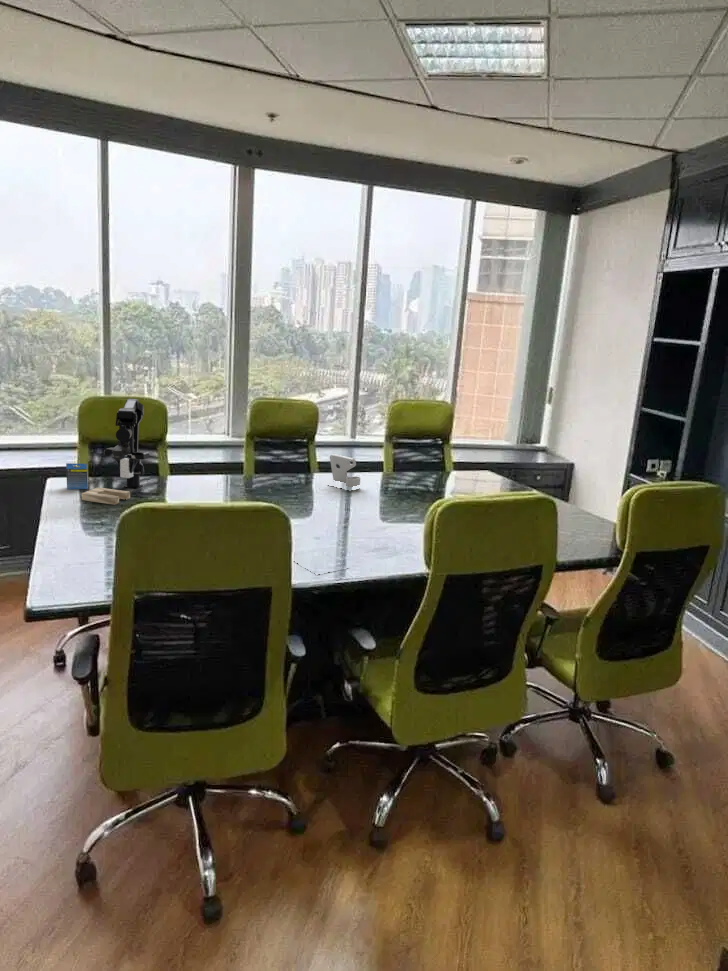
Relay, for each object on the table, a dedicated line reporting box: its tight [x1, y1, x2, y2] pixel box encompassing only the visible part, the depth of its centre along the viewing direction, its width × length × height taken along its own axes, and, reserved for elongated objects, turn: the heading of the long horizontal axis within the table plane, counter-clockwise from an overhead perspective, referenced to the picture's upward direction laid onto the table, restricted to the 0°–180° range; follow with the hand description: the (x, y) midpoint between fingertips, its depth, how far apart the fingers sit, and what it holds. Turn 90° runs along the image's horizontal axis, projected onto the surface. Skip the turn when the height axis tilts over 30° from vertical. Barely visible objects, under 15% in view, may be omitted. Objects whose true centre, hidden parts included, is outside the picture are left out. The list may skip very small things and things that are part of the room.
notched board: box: [81, 487, 131, 505], centre depth 267 cm, size 12×16×3 cm
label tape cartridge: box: [65, 462, 89, 490], centre depth 278 cm, size 9×4×12 cm, turn 108°
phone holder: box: [329, 453, 361, 487], centre depth 325 cm, size 17×10×18 cm, turn 56°
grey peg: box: [119, 457, 133, 479], centre depth 267 cm, size 4×4×8 cm
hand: (126, 472), depth 268 cm, fingers closed on grey peg, 4 cm apart
